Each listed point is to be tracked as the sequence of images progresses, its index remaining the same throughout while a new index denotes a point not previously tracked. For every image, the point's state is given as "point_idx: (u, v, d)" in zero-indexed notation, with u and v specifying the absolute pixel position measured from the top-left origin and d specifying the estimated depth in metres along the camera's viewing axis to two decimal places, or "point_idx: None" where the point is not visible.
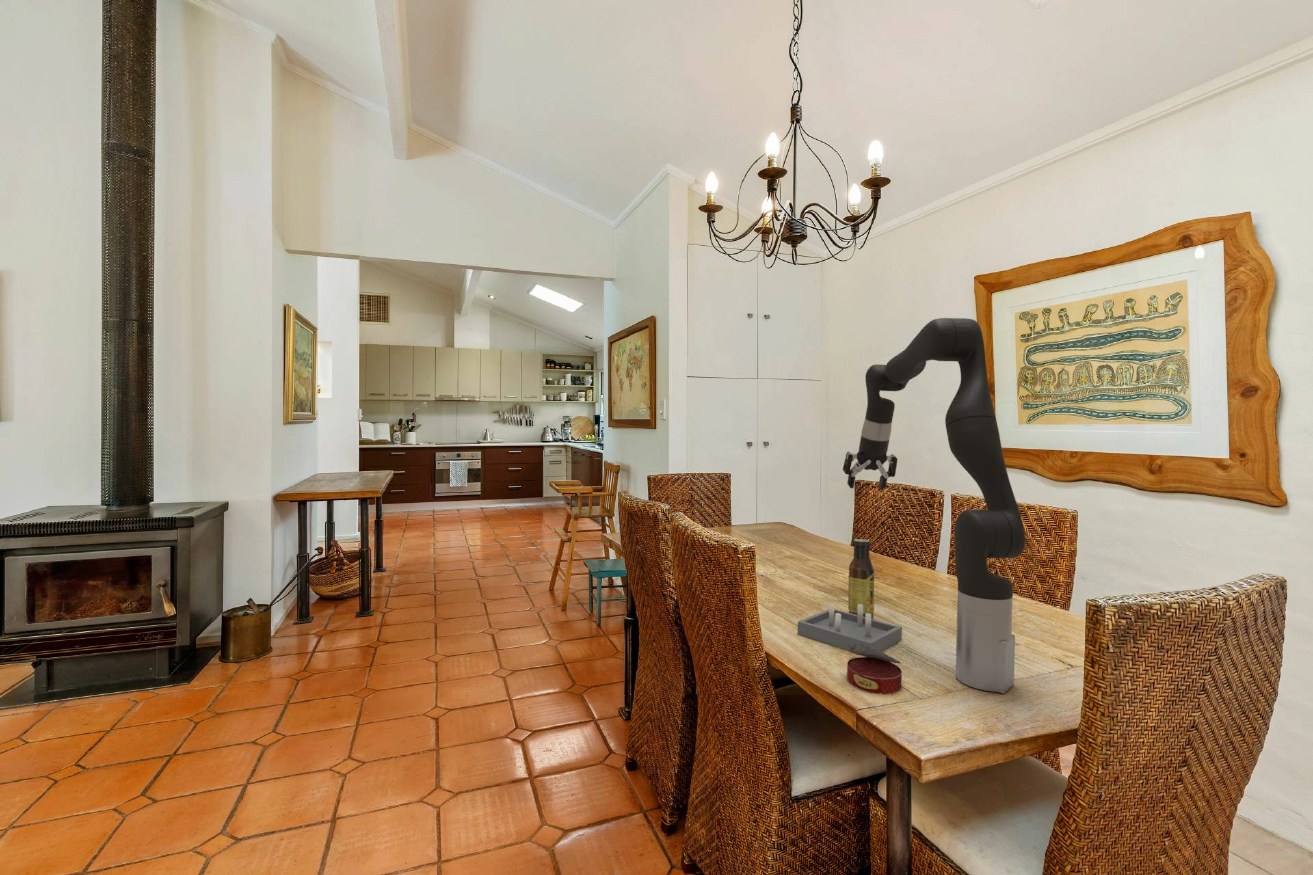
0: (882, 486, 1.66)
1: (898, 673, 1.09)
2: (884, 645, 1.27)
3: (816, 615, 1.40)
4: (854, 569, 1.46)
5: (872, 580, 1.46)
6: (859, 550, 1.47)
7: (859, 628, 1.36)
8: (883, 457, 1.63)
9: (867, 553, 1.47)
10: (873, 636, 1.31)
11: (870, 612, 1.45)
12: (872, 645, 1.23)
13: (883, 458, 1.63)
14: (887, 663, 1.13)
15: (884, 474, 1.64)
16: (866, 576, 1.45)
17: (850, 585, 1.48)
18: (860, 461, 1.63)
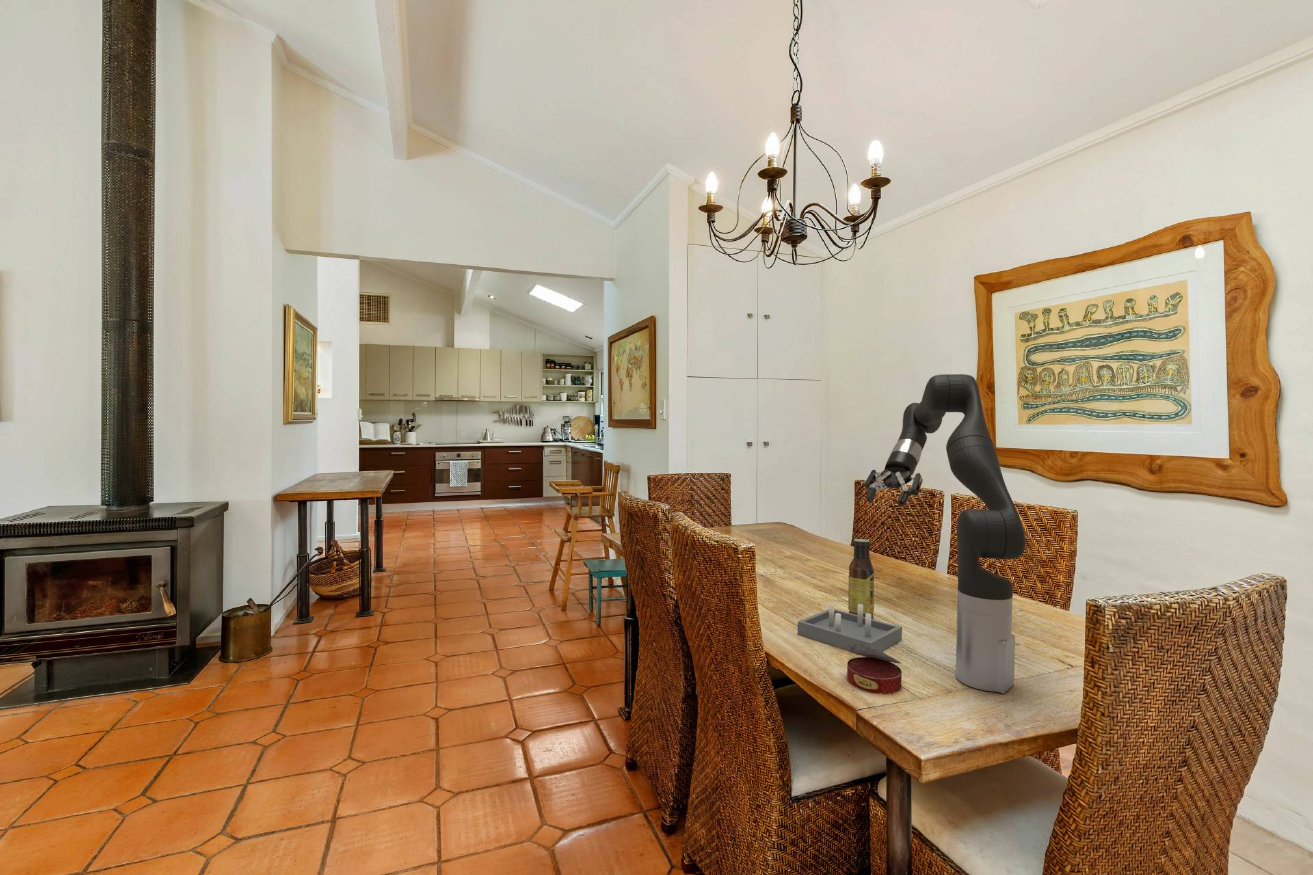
0: (900, 498, 1.52)
1: (898, 673, 1.09)
2: (884, 645, 1.27)
3: (816, 615, 1.40)
4: (855, 569, 1.46)
5: (872, 580, 1.46)
6: (859, 550, 1.47)
7: (859, 628, 1.36)
8: (906, 472, 1.57)
9: (867, 553, 1.47)
10: (873, 636, 1.31)
11: (870, 612, 1.45)
12: (872, 645, 1.23)
13: (905, 473, 1.57)
14: (887, 663, 1.13)
15: (904, 487, 1.54)
16: (866, 576, 1.45)
17: (850, 585, 1.48)
18: (882, 475, 1.61)
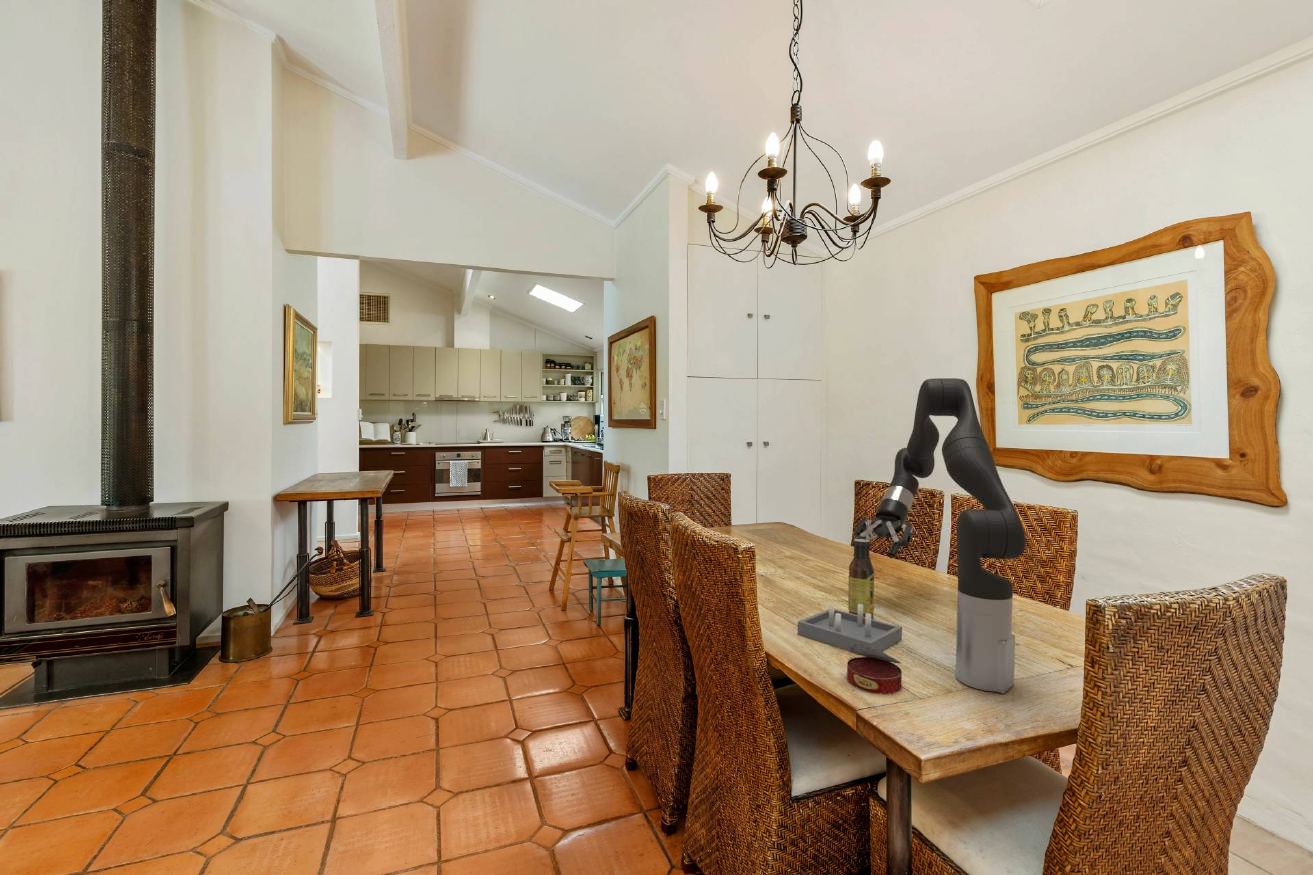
0: (890, 549, 1.49)
1: (898, 673, 1.09)
2: (884, 645, 1.27)
3: (816, 615, 1.40)
4: (854, 569, 1.46)
5: (872, 580, 1.46)
6: (859, 550, 1.47)
7: (859, 628, 1.36)
8: (896, 522, 1.54)
9: (867, 553, 1.47)
10: (873, 636, 1.31)
11: (870, 612, 1.45)
12: (872, 645, 1.23)
13: (896, 523, 1.54)
14: (887, 663, 1.13)
15: (894, 537, 1.51)
16: (866, 576, 1.45)
17: (850, 585, 1.48)
18: (872, 524, 1.58)
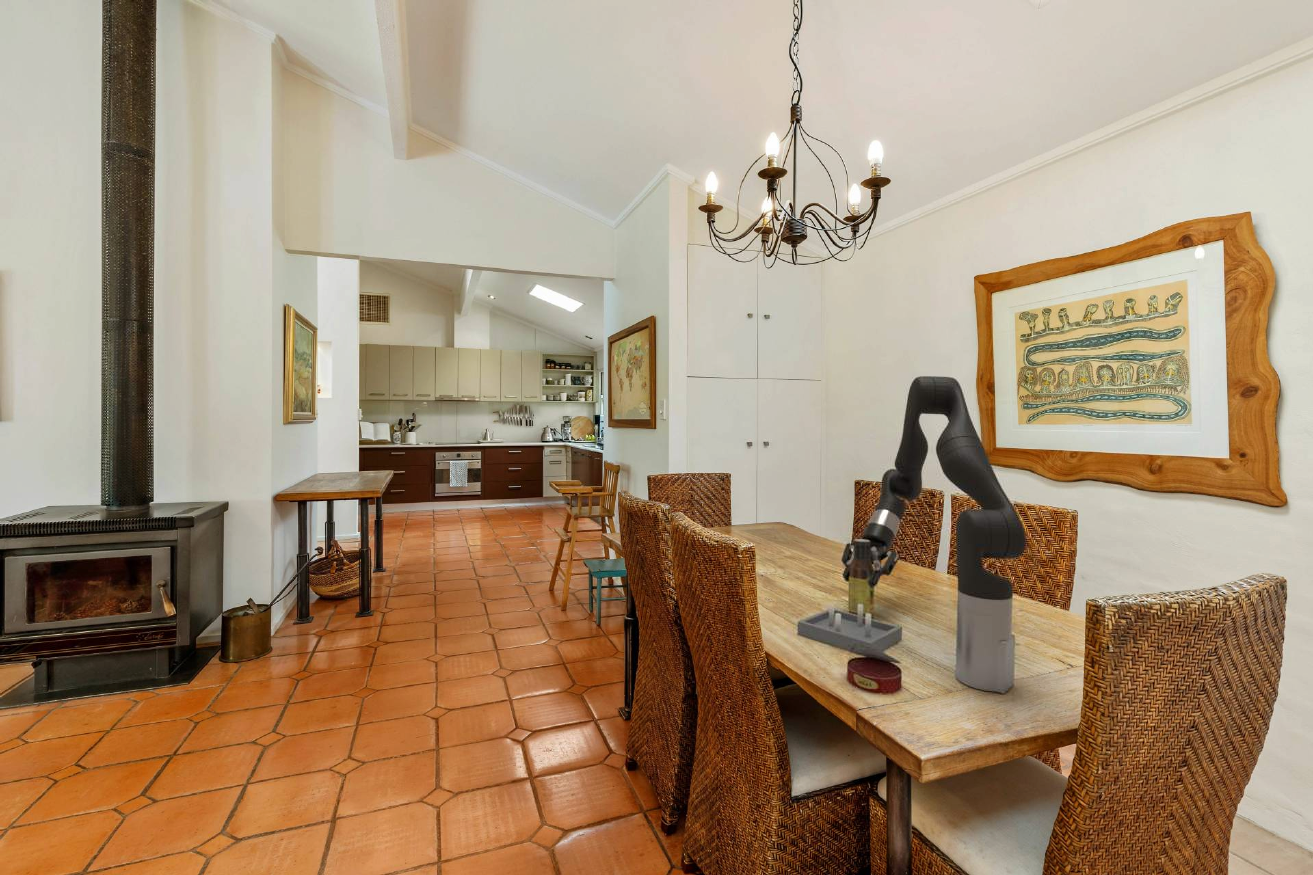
0: (871, 578, 1.45)
1: (898, 673, 1.09)
2: (884, 645, 1.27)
3: (816, 615, 1.40)
4: (855, 569, 1.46)
5: None
6: (859, 550, 1.47)
7: (859, 628, 1.36)
8: (882, 548, 1.49)
9: (867, 553, 1.47)
10: (873, 636, 1.31)
11: (870, 612, 1.45)
12: (872, 645, 1.23)
13: (882, 549, 1.49)
14: (887, 663, 1.13)
15: (876, 565, 1.46)
16: (866, 576, 1.45)
17: (850, 585, 1.48)
18: None
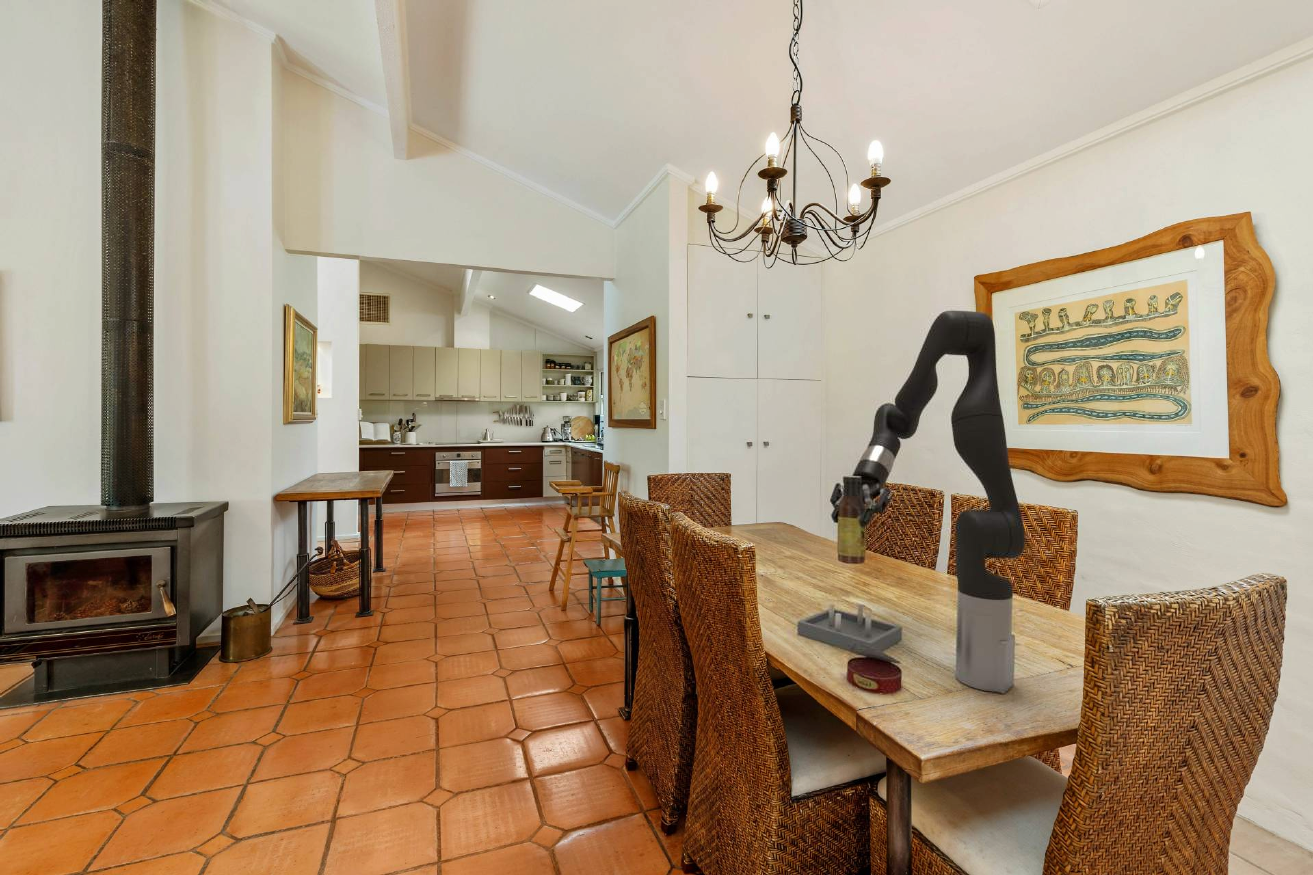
0: (862, 517, 1.30)
1: (898, 673, 1.09)
2: (884, 645, 1.27)
3: (816, 615, 1.40)
4: (844, 507, 1.32)
5: None
6: (849, 487, 1.33)
7: (859, 628, 1.36)
8: (875, 485, 1.35)
9: (858, 490, 1.32)
10: (873, 636, 1.31)
11: (861, 555, 1.31)
12: (872, 645, 1.23)
13: (874, 486, 1.35)
14: (887, 663, 1.13)
15: (867, 503, 1.32)
16: (856, 514, 1.31)
17: (839, 526, 1.33)
18: None
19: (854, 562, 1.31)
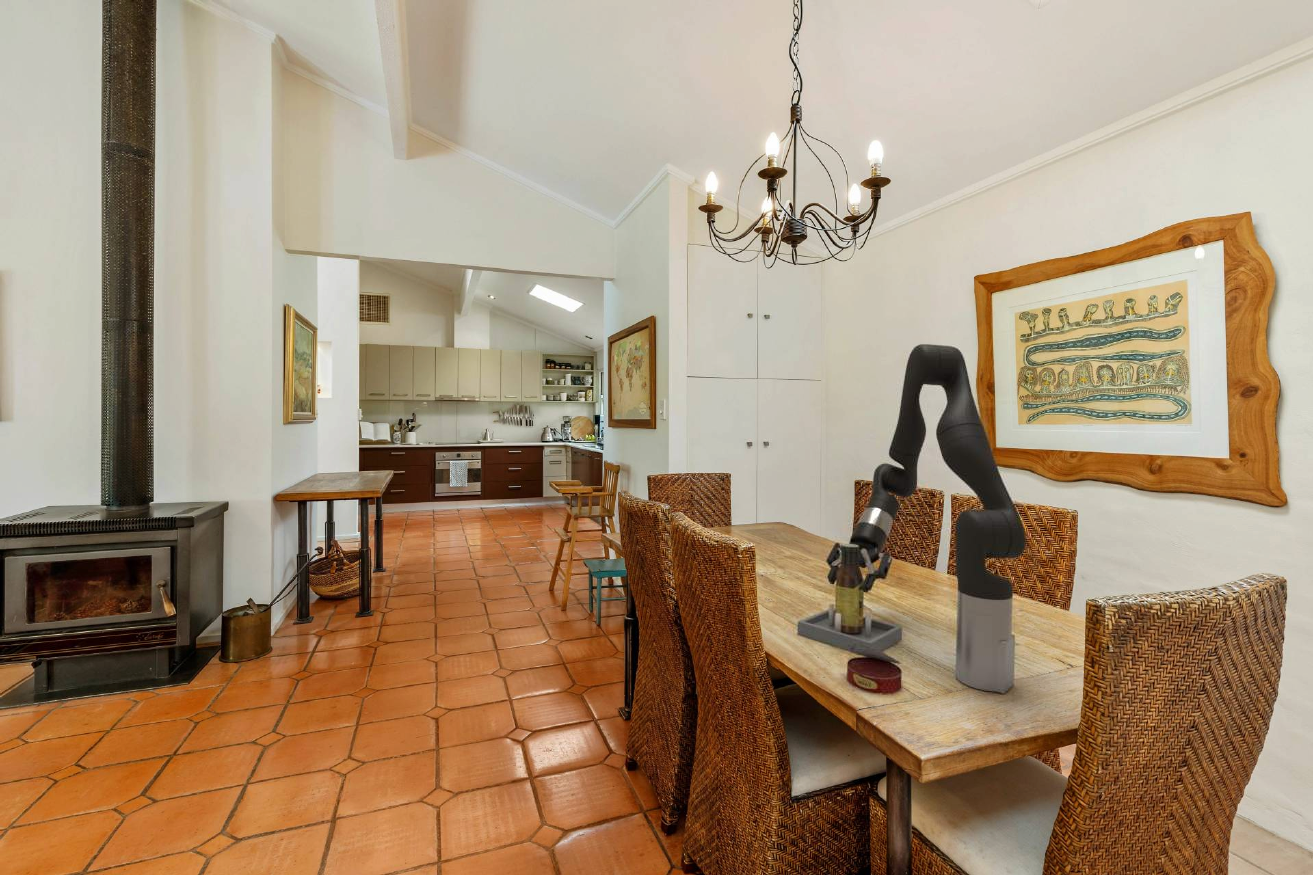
0: (864, 582, 1.30)
1: (898, 673, 1.09)
2: (884, 645, 1.27)
3: (816, 615, 1.40)
4: (842, 577, 1.33)
5: (861, 589, 1.32)
6: (846, 556, 1.33)
7: None
8: (873, 549, 1.35)
9: (856, 559, 1.33)
10: (873, 636, 1.31)
11: (859, 625, 1.32)
12: (872, 645, 1.23)
13: (872, 551, 1.35)
14: (887, 663, 1.13)
15: (869, 568, 1.32)
16: (854, 585, 1.32)
17: (837, 595, 1.34)
18: None
19: (852, 632, 1.32)
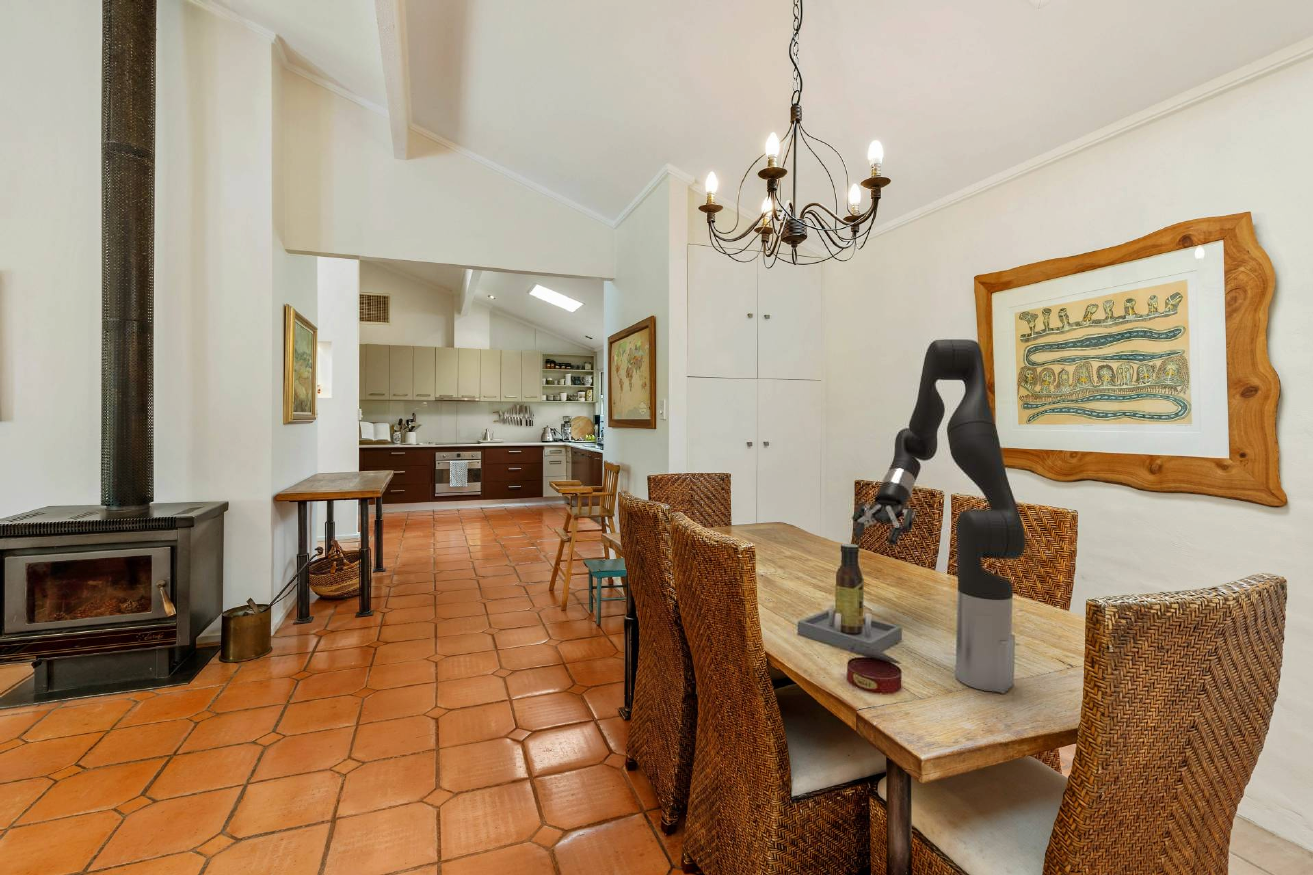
0: (890, 536, 1.38)
1: (898, 673, 1.09)
2: (884, 645, 1.27)
3: (816, 615, 1.40)
4: (842, 577, 1.33)
5: (861, 589, 1.32)
6: (846, 556, 1.33)
7: None
8: (897, 506, 1.43)
9: (856, 559, 1.33)
10: (873, 636, 1.31)
11: (859, 624, 1.32)
12: (872, 645, 1.23)
13: (897, 507, 1.43)
14: (888, 663, 1.13)
15: (894, 523, 1.40)
16: (854, 585, 1.32)
17: (837, 595, 1.34)
18: (871, 509, 1.47)
19: (852, 632, 1.32)
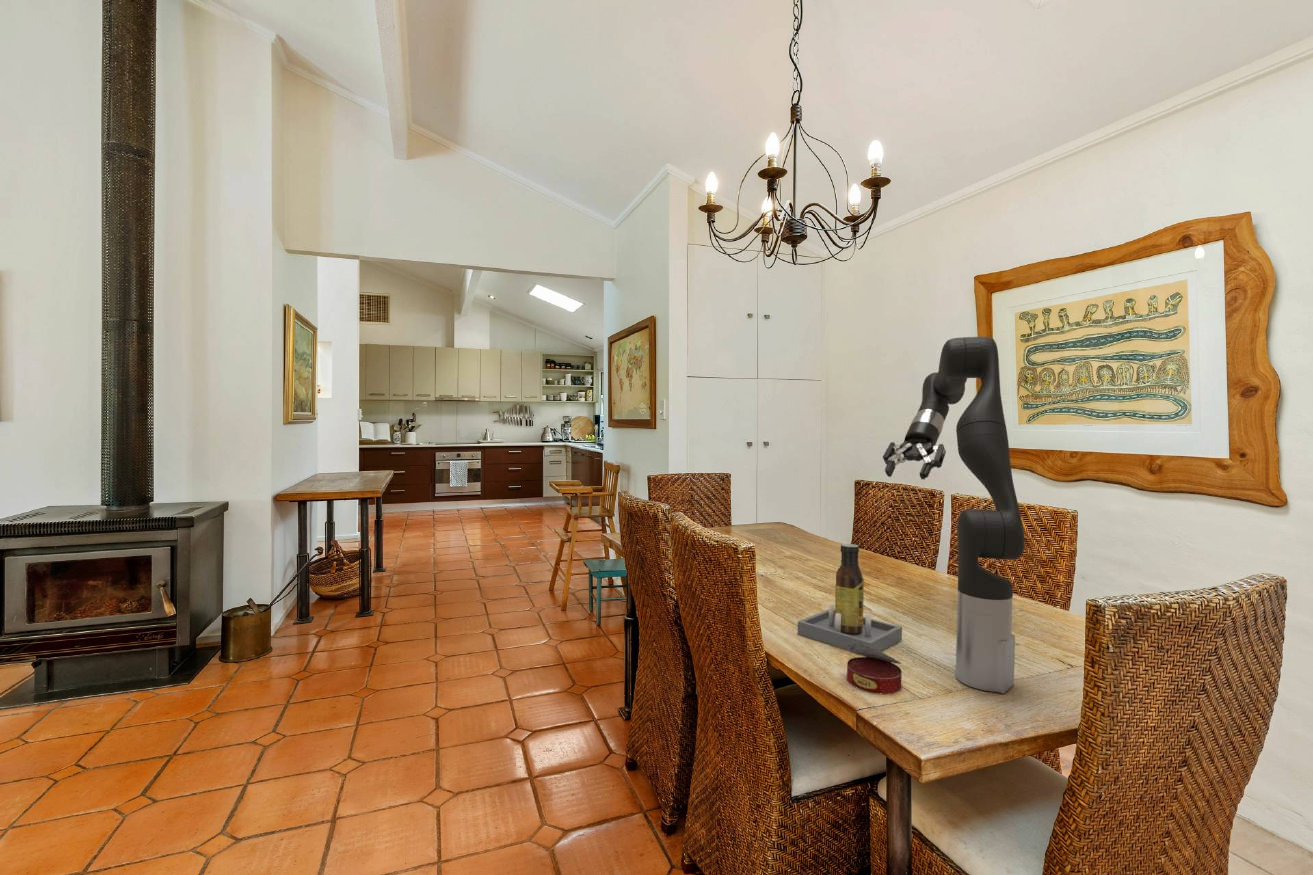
0: (922, 470, 1.42)
1: (898, 673, 1.09)
2: (884, 645, 1.27)
3: (816, 615, 1.40)
4: (842, 577, 1.33)
5: (861, 589, 1.32)
6: (846, 556, 1.33)
7: None
8: (927, 444, 1.47)
9: (855, 559, 1.33)
10: (873, 636, 1.31)
11: (859, 625, 1.32)
12: (872, 645, 1.23)
13: (927, 445, 1.47)
14: (888, 663, 1.13)
15: (926, 458, 1.44)
16: (854, 585, 1.32)
17: (837, 595, 1.34)
18: (901, 448, 1.51)
19: (852, 632, 1.32)
